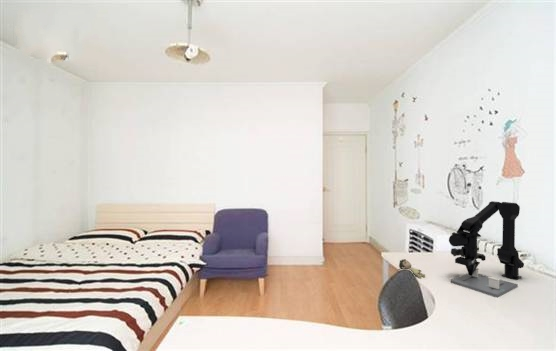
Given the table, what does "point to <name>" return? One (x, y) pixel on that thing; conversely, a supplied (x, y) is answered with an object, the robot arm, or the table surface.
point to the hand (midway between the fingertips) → (470, 275)
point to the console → (483, 284)
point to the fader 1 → (475, 273)
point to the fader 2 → (493, 282)
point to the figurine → (406, 265)
